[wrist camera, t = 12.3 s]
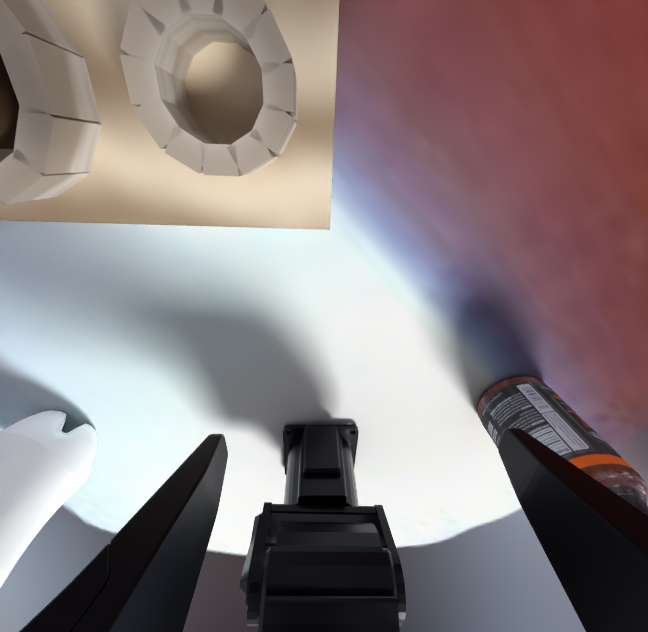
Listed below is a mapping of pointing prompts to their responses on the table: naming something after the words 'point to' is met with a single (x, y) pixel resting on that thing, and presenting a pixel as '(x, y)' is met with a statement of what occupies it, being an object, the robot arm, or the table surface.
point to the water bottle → (38, 477)
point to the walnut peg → (7, 109)
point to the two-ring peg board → (171, 111)
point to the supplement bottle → (559, 433)
